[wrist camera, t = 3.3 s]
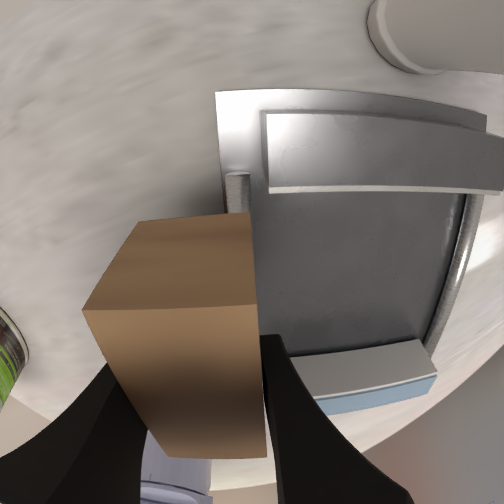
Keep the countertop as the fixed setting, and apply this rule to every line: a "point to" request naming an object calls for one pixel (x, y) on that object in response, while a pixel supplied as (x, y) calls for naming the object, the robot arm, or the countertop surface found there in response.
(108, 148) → the countertop surface
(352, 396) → the bar
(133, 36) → the countertop surface
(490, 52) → the bottle
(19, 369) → the coffee can
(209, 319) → the walnut block
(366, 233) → the vise
